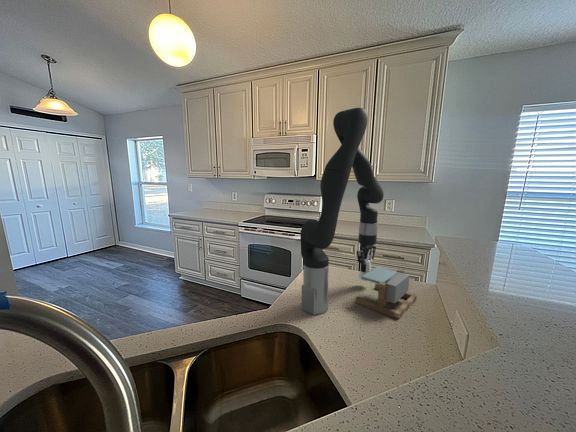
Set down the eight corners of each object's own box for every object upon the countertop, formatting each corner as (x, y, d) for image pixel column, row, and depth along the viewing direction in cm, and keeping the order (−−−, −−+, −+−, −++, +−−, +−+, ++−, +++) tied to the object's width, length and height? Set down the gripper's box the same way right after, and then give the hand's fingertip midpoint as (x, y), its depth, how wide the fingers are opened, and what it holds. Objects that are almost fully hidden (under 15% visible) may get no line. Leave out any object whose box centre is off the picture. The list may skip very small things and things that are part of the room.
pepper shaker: (358, 280, 107) (360, 255, 106) (358, 275, 112) (359, 252, 111) (371, 281, 106) (373, 257, 104) (371, 276, 111) (372, 253, 109)
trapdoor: (394, 303, 87) (395, 286, 86) (361, 291, 96) (361, 275, 95) (408, 290, 97) (409, 274, 96) (376, 281, 106) (377, 266, 105)
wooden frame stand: (398, 319, 84) (400, 289, 82) (355, 302, 96) (356, 276, 94) (416, 299, 97) (418, 273, 96) (376, 287, 109) (377, 263, 107)
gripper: (367, 229, 114) (365, 264, 116) (351, 233, 104) (349, 272, 106) (383, 231, 109) (380, 268, 111) (368, 236, 98) (365, 277, 101)
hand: (365, 270), depth 109 cm, fingers closed on pepper shaker, 3 cm apart
